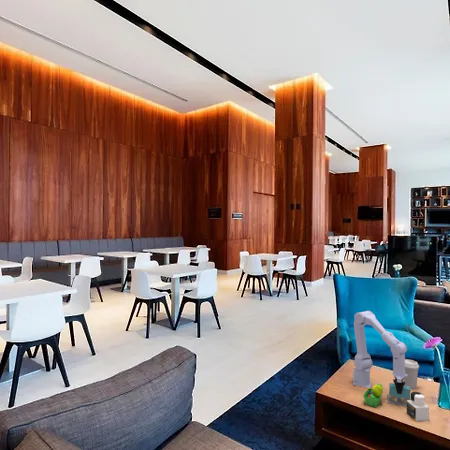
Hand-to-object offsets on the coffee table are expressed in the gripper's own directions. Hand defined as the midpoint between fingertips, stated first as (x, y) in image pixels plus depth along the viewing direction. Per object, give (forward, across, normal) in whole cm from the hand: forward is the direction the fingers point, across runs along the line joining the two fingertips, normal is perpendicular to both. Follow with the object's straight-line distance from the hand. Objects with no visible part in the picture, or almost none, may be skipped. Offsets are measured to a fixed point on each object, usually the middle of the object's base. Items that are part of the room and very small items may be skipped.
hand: (399, 390), depth 182 cm
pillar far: (+6, 0, -3) cm, 6 cm away
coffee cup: (+6, +21, -6) cm, 23 cm away
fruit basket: (+6, -8, +12) cm, 16 cm away
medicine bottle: (+6, -13, -8) cm, 17 cm away
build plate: (+6, 0, 0) cm, 6 cm away
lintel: (+3, 0, 0) cm, 3 cm away
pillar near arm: (+6, 0, +3) cm, 6 cm away
